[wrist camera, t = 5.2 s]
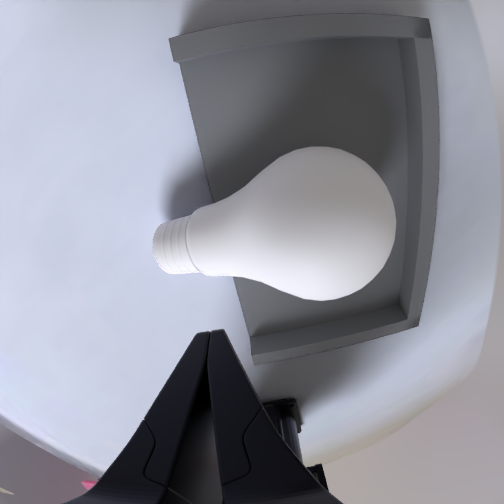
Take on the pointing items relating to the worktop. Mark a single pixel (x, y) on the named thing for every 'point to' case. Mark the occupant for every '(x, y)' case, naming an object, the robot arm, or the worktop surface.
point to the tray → (323, 135)
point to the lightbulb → (291, 228)
